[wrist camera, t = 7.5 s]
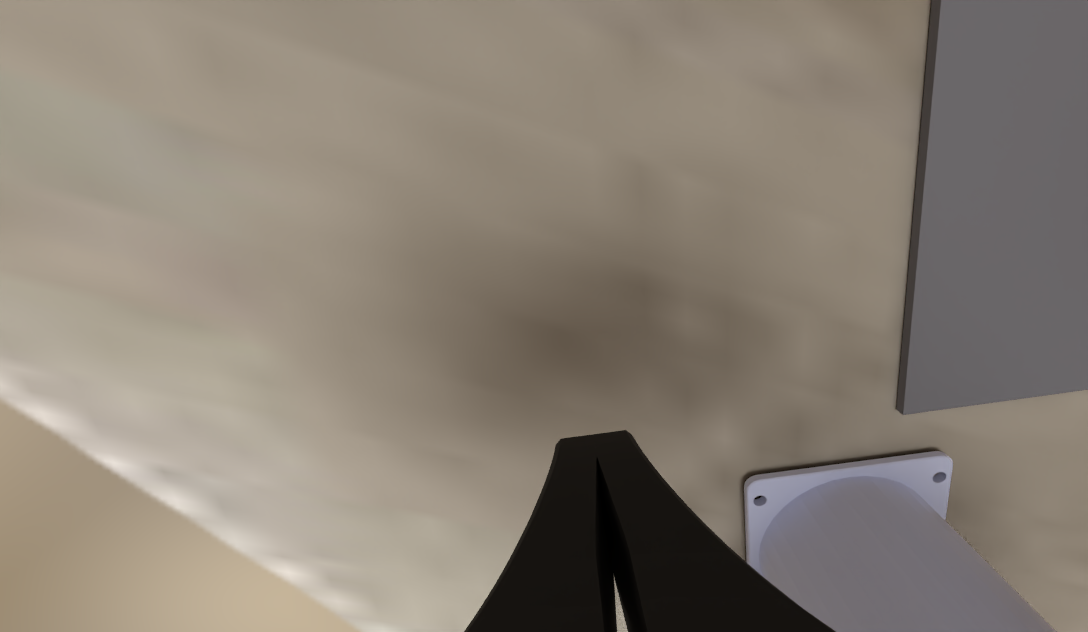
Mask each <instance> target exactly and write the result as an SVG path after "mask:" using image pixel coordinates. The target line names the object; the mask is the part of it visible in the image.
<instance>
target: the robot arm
mask: <svg viewBox="0 0 1088 632" xmlns="http://www.w3.org/2000/svg"><path fill="white" fill-rule="evenodd" d="M952 468H953V461H952V459H951V458H950V457H949V456H948V455H947V454H945V453H944V452H941V451H932V452H925V453H917V454H910V455H902V456H895V457H887V458H880V459H872V460H864V461H857V462H849V463H842V464H834V465H827V466H819V467H812V468H804V469H797V470H789V471H782V472H774V473H767V474H759V475H754V476H751V477H750V478H748V479H747V480H746V482H745V484H744V501H745V530H746V560H747V563H746V562H745V561H744V560H743V559H742V558H741V557H739V556H738V555H737V554H736V553H735V552H734V551H733V550H732V549H731V548H729V547H728V546H727V545H726V544H725V543H724V542H723V541H722V540H721V539H720V538H719V537H718V536H717V535H716V534H715V533H714V532H713V531H712V530H711V529H710V528H709V527H708V526H707V525H706V524H705V523H704V522H703V521H702V520H701V519H700V518H699V517H698V516H697V515H696V514H695V513H694V512H693V511H692V510H691V509H690V508H689V507H688V506H687V505H686V504H685V503H684V501H683V500H682V499H681V498H680V497H679V496H678V495H677V494H676V492H675V491H674V490H673V489H672V488H671V487H670V486H669V485H668V483H667V482H666V481H665V480H664V479H663V478H662V476H661V475H660V474H659V473H658V471H657V470H656V469H655V468H654V466H653V465H652V464H651V462H650V461H649V460H648V458H647V457H646V456H645V454H644V453H643V452H642V450H641V449H640V447H639V446H638V444H637V443H636V441H635V439H634V438H633V436H632V435H631V434H630V433H629V432H627V431H626V430H623V431H616V432H609V433H601V434H594V435H586V436H579V437H571V438H564V439H560V441H559V442H558V443H557V444H556V447H555V452H554V456H553V460H552V463H551V467H550V470H549V473H548V475H547V478H546V481H545V484H544V486H543V489H542V491H541V494H540V496H539V498H538V501H537V503H536V506H535V508H534V510H533V513H532V515H531V517H530V520H529V522H528V524H527V526H526V528H525V530H524V532H523V534H522V536H521V538H520V540H519V542H518V544H517V546H516V548H515V550H514V552H513V554H512V555H511V557H510V559H509V561H508V563H507V565H506V566H505V568H504V570H503V572H502V574H501V575H500V577H499V579H498V580H497V582H496V584H495V585H494V587H493V589H492V590H491V592H490V593H489V595H488V597H487V598H486V600H485V601H484V603H483V605H482V606H481V608H480V609H479V611H478V612H477V614H476V615H475V617H474V618H473V620H472V621H471V623H470V624H469V625H468V627H467V628H466V630H465V631H464V632H617V624H616V607H615V590H614V577H615V581H616V585H617V589H618V593H619V597H620V601H621V605H622V609H623V613H624V617H625V621H626V625H627V629H628V632H1056V631H1055V630H1054V629H1053V628H1052V627H1051V626H1050V625H1049V624H1048V623H1047V622H1046V621H1045V620H1044V619H1043V618H1042V617H1041V616H1040V615H1039V614H1038V613H1037V612H1036V611H1035V610H1034V609H1033V608H1032V607H1031V606H1030V605H1029V604H1028V603H1027V602H1026V601H1025V600H1024V599H1023V598H1022V597H1021V596H1020V595H1019V594H1018V593H1017V592H1016V591H1015V590H1014V589H1013V588H1012V587H1011V586H1010V585H1009V584H1008V583H1007V582H1006V581H1005V580H1004V579H1003V578H1002V577H1001V576H1000V575H999V574H998V573H997V572H996V571H995V570H994V569H993V568H992V567H991V566H990V565H989V564H988V563H987V562H986V561H985V560H984V559H983V558H982V557H981V556H980V555H979V554H978V553H977V552H976V551H975V550H974V549H973V548H972V547H971V546H970V545H969V544H968V543H967V542H966V541H965V540H964V539H963V538H962V537H961V536H960V535H959V534H958V533H957V532H956V531H955V530H954V529H953V528H952V527H951V526H950V525H949V524H948V523H947V522H946V521H945V520H946V512H947V505H948V498H949V490H950V483H951V476H952ZM936 473H937V474H936ZM935 474H936V475H935ZM934 475H935V476H934ZM760 495H761V496H762V497H760V498H759V499H754V498H756V497H757V496H760ZM613 573H614V574H613Z"/></svg>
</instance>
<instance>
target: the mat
mask: <svg viewBox="0 0 1088 632" xmlns="http://www.w3.org/2000/svg"><path fill="white" fill-rule="evenodd" d="M1081 390H1088V0H932V3H931V14H930V26H929V38H928V49H927V61H926V72H925V84H924V96H923V107H922V119H921V130H920V142H919V154H918V165H917V177H916V188H915V200H914V211H913V223H912V235H911V246H910V258H909V269H908V281H907V293H906V304H905V316H904V327H903V339H902V351H901V362H900V374H899V385H898V397H897V408H896V409H897V410H898V411H899V412H900V413H901V414H903V415H906V414H913V413H920V412H928V411H935V410H942V409H950V408H957V407H964V406H971V405H979V404H986V403H993V402H1000V401H1008V400H1015V399H1022V398H1030V397H1037V396H1044V395H1051V394H1059V393H1066V392H1073V391H1081Z"/></svg>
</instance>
